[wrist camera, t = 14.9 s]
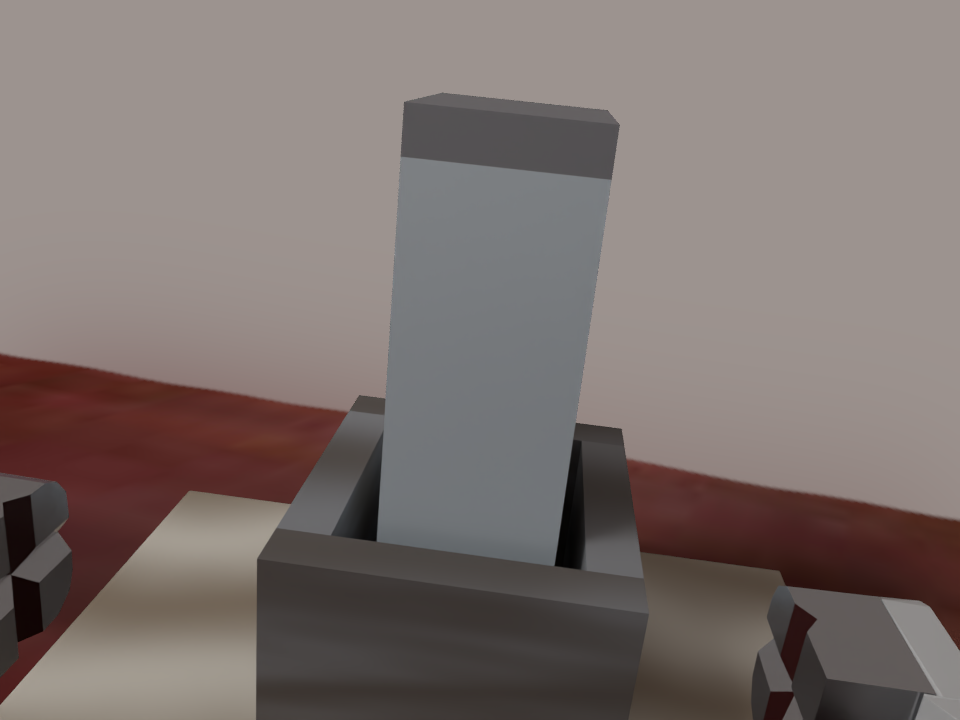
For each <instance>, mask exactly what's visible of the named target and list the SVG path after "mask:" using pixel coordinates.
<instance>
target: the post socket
mask: <svg viewBox="0 0 960 720" xmlns="http://www.w3.org/2000/svg"><path fill="white" fill-rule="evenodd" d="M385 400H386V399H384V398H376V397H368V396H361V395H359V397H358V398H357V400H356V401H355V403H354V405H353V406H352V408H351V409H350V411H349V412H348V414H347V416H346V417H345V419H344V420H343V422H342V424H341V425H340V427H339V428H338V430H337V432H336V433H335V435H334V436H333V438H332V440H331V441H330V443H329V444H328V446H327V448H326V449H325V451H324V452H323V454H322V456H321V457H320V459H319V460H318V462H317V464H316V465H315V467H314V468H313V470H312V472H311V473H310V475H309V476H308V478H307V480H306V481H305V483H304V484H303V486H302V488H301V489H300V491H299V492H298V494H297V496H296V497H295V499H294V500H293V502H292V504H284V503H276V502H269V501H262V500H254V499H247V498H240V497H232V496H225V495H218V494H210V493H203V492H196V491H189V492H188V493H187V494H186V495H185V497H184V498H183V499H182V500H181V501H180V502H179V503H178V504H177V506H176V507H175V508H174V509H173V510H172V511H171V512H170V514H169V515H168V516H167V517H166V518H165V519H164V520H163V521H162V523H161V524H160V525H159V526H158V527H157V528H156V529H155V531H154V532H153V533H152V534H151V535H150V536H149V537H148V538H147V540H146V541H145V542H144V543H143V544H142V545H141V546H140V548H139V549H138V550H137V551H136V552H135V553H134V554H133V555H132V557H131V558H130V559H129V560H128V561H127V562H126V563H125V565H124V566H123V567H122V568H121V569H120V570H119V571H118V572H117V574H116V575H115V576H114V577H113V578H112V579H111V580H110V581H109V583H108V584H107V585H106V586H105V587H104V588H103V589H102V591H101V592H100V593H99V594H98V595H97V596H96V597H95V598H94V600H93V601H92V602H91V603H90V604H89V605H88V606H87V608H86V609H85V610H84V611H83V612H82V613H81V614H80V615H79V617H78V618H77V619H76V620H75V621H74V622H73V623H72V625H71V626H70V627H69V628H68V629H67V630H66V631H65V632H64V634H63V635H62V636H61V637H60V638H59V639H58V640H57V642H56V643H55V644H54V645H53V646H52V647H51V648H50V649H49V651H48V652H47V653H46V654H45V655H44V656H43V657H42V659H41V660H40V661H39V662H38V663H37V664H36V665H35V666H34V668H33V669H32V670H31V671H30V672H29V673H28V674H27V676H26V677H25V678H24V679H23V680H22V681H21V682H20V683H19V685H18V686H17V687H16V688H15V689H14V690H13V691H12V693H11V694H10V695H9V696H8V697H7V698H6V699H5V700H4V702H3V703H2V704H1V705H0V720H753V716H752V707H751V691H752V676H753V671H754V667H755V662H756V658H757V653H758V651H759V650H760V649H761V648H762V647H764V646H765V645H766V644H767V643H769V642H770V641H771V640H772V639H774V637H773V634H772V631H771V628H770V625H769V623H768V620H767V614H768V611H769V607H770V603H771V600H772V597H773V595H774V593H775V591H776V589H777V587H778V586H785V583H784V581H783V578H782V576H781V574H780V571H776V570H768V569H761V568H754V567H746V566H739V565H732V564H724V563H717V562H710V561H702V560H695V559H688V558H680V557H673V556H666V555H658V554H651V553H643V552H640V549H639V542H638V536H637V529H636V522H635V515H634V509H633V502H632V495H631V489H630V482H629V475H628V469H627V462H626V455H625V449H624V442H623V435H622V429H619V428H611V427H603V426H596V425H595V426H594V425H588V424H580V423H575V430H574V437H573V444H572V450H571V457H570V464H569V471H568V477H567V484H566V491H565V498H564V504H563V511H562V518H561V525H560V531H559V538H558V545H557V552H556V559H555V565H554V566H549V565H541V564H534V563H527V562H520V561H512V560H505V559H498V558H491V557H483V556H476V555H469V554H462V553H454V552H447V551H440V550H433V549H426V548H418V547H411V546H404V545H397V544H389V543H382V542H377V528H378V512H379V496H380V480H381V464H382V448H383V432H384V416H385Z"/></svg>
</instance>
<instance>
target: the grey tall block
mask: <svg viewBox="0 0 960 720" xmlns="http://www.w3.org/2000/svg"><path fill="white" fill-rule="evenodd" d="M619 126H620V125H619V123H618V122H617V121H616V120H615V119H614V117H613V116H612V115H611V114H610V113H609V111H608V110H599V109H588V108H580V107H570V106H561V105H552V104H542V103H533V102H523V101H514V100H504V99H495V98H486V97H476V96H467V95H457V94H448V93H440V94H436V95H431V96H427V97H423V98H418V99H414V100H410V101H406V102H404V113H403V130H402V145H401V161H400V178H399V193H398V210H397V225H396V242H395V257H394V275H393V289H392V305H391V321H390V338H389V353H388V368H387V386H386V400H385V416H384V432H383V448H382V464H381V480H380V496H379V512H378V528H377V542H382V543H389V544H397V545H404V546H411V547H418V548H426V549H433V550H440V551H447V552H454V553H462V554H469V555H476V556H483V557H491V558H498V559H505V560H512V561H520V562H527V563H534V564H541V565H549V566H554V565H555V559H556V552H557V545H558V538H559V531H560V525H561V518H562V511H563V504H564V498H565V491H566V484H567V477H568V471H569V464H570V457H571V450H572V444H573V437H574V430H575V423H576V416H577V409H578V403H579V396H580V389H581V383H582V376H583V369H584V362H585V355H586V349H587V341H588V335H589V328H590V322H591V315H592V308H593V301H594V294H595V288H596V281H597V274H598V268H599V261H600V254H601V247H602V241H603V234H604V227H605V220H606V213H607V207H608V200H609V193H610V186H611V180H612V173H613V166H614V159H615V152H616V146H617V139H618V132H619Z"/></svg>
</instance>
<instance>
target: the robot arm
mask: <svg viewBox="0 0 960 720" xmlns="http://www.w3.org/2000/svg"><path fill="white" fill-rule="evenodd" d="M68 518H69V514H68V506H67V497H66V491H65V490H64V489H63V488H62V487H61V486H60V485H59V484H58V483H57V482H54V481H47V480H41V479H35V478H29V477H23V476H17V475H10V474H4V473H0V677H1V676H2V675H3V674H4V673H5V672H6V671H7V670H8V669H9V668H10V666H11V665H12V664H13V663H14V662H15V661H16V660H17V659H18V658H19V656H18V642H20V641H22V640H24V639H26V638H29V637H31V636H33V635H36V634H38V633H40V632H43V631H44V630H45V629H46V628H47V626H48V625H49V624H50V623H51V622H52V621H53V620H54V618H55V617H56V616H57V615H58V614H59V612H60V610H61V607H62V605H63V603H64V601H65V599H66V596H67V594H68V592H69V589H70V583H71V577H72V570H73V568H72V551H71V549H70V548H69V547H68V545H67V544H66V543H65V541H64V540H63V539H62V537H61V536H60V535H59V533H58V530H59V529H60V528H61V527H62V525H63V524H64V523H65V521H66V520H67V519H68ZM767 620H768V623H769V625H770V628H771V631H772V634H773V637H774V639H772V640H771V641H770V642H769V643H767V644H766V645H765V646H764V647H762V648H761V649H760V650H759V651H758V653H757V658H756V662H755V667H754V671H753V676H752V691H751V707H752V716H753V720H960V651H959V649H958V648H957V646H956V645H955V643H954V642H953V640H952V639H951V637H950V636H949V635H948V633H947V632H946V630H945V629H944V627H943V626H942V624H941V623H940V621H939V620H938V618H937V617H936V615H935V614H934V612H933V611H932V609H931V608H930V607H929V606H927V605H926V604H924V603H922V602H921V601H916V600H906V599H896V598H886V597H877V596H867V595H858V594H849V593H841V592H832V591H824V590H815V589H806V588H798V587H789V586H778V587H777V589H776V591H775V593H774V595H773V597H772V600H771V603H770V607H769V611H768V614H767Z"/></svg>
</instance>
